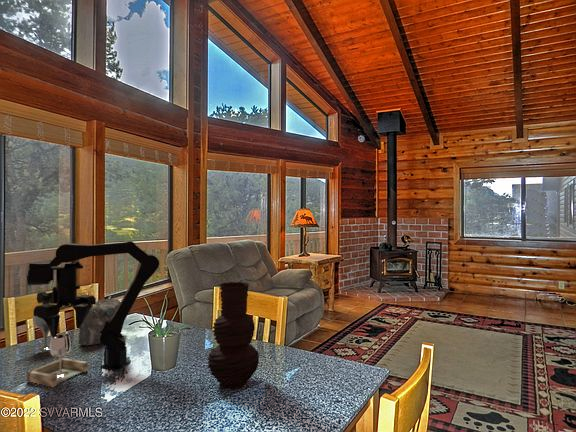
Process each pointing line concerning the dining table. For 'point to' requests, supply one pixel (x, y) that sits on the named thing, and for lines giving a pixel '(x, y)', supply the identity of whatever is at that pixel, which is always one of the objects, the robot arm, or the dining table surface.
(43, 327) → the wine glass
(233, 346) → the vase
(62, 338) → the wineglass
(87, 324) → the rock
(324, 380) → the dining table surface
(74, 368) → the u rest
